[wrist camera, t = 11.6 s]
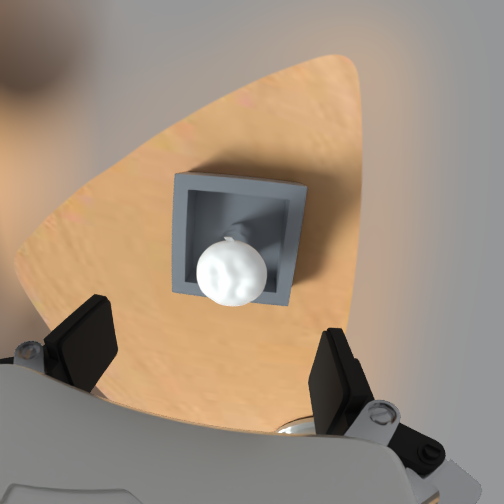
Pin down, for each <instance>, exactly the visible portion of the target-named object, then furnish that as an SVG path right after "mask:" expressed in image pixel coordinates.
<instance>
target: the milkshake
mask: <svg viewBox="0 0 504 504" xmlns="http://www.w3.org/2000/svg"><path fill="white" fill-rule="evenodd" d="M266 280H267V268H266V265H265V262H264V259H263V255H262V251H261V246H260V241H259V236H258V234H257V233H256V231H255V230H254V228H253V227H252V226H250V225H248V224H245V223H242V222H240V223H237V224H233V225H230V226H229V227H228V228H227V230H226V231H225V232H224V233H223V234H222V235H221V236H220V237H219V238H218V239H217V240H216V241H215V242H214V243H213V244H212V245H211V246H209V247H208V248H207V249H206V250H205V251H204V252H203V254H202V255H201V257H200V259H199V261H198V264H197V281H198V285H199V287H200V289H201V291H202V292H203V293H204V294H205V295H206V296H207V297H209V298H210V299H212V300H213V301H215V302H216V303H218V304H221V305H225V306H241V305H244V304H247V303H249V302H251V301H253V300H255V299H256V298H257V297H258V296H259V295H260V294H261V293H262V292H263V290H264V288H265V285H266Z"/></svg>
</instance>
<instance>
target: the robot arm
mask: <svg viewBox="0 0 504 504" xmlns="http://www.w3.org/2000/svg"><path fill="white" fill-rule="evenodd" d="M44 342H45V345H44V346H42V345H41V343H39V342H37V341H27V342H24V343H21V344H20V345H19V346H18V347H17V348H16V350H15V353H14V357H9V358H4V359H0V504H476V503H477V501H478V500H479V498H480V496H481V492H482V488H481V485H480V484H479V482H478V481H477V480H475V479H474V478H473V477H472V476H471V475H469V474H468V473H467V472H466V471H465V470H463V469H462V468H461V467H460V466H458V465H457V464H456V463H455V462H454V461H453V460H449V461H447V460H446V459H445V456H446V455H445V450H444V448H443V446H442V445H441V444H440V443H439V442H437V441H436V440H434V439H432V438H430V437H428V436H425V435H423V434H421V433H419V432H417V431H415V430H413V429H411V428H409V427H407V426H405V425H403V424H401V423H400V418H401V416H400V412H399V410H398V408H397V407H396V406H395V405H393V404H392V403H390V402H388V401H385V400H375V399H374V397H373V394H372V392H371V390H370V387H369V384H368V382H367V379H366V377H365V374H364V372H363V369H362V367H361V364H360V362H359V360H358V359H356V358H354V357H353V354H352V352H351V349H350V347H349V345H348V342H347V339H346V337H345V335H344V332H343V330H342V329H341V328H328V329H327V331H323V332H322V336H321V339H320V343H319V346H318V350H317V353H316V356H315V360H314V363H313V366H312V369H311V373H310V376H309V381H308V385H309V391H310V398H311V404H312V411H313V417H311V418H305V419H300V420H296V421H293V422H291V423H288V424H286V425H284V426H282V427H280V428H279V429H277V430H276V431H275V432H262V431H250V430H241V429H233V428H225V427H219V426H212V425H206V424H201V423H195V422H190V421H185V420H180V419H175V418H171V417H167V416H163V415H159V414H155V413H151V412H147V411H143V410H140V409H136V408H133V407H130V406H126V405H123V404H120V403H117V402H114V401H111V400H108V399H105V398H102V397H99V396H97V395H94V394H91V393H90V392H91V390H92V389H93V388H94V386H95V385H96V383H97V382H98V380H99V379H100V377H101V376H102V375H103V373H104V372H105V370H106V369H107V367H108V366H109V365H110V363H111V362H112V360H113V359H114V358H115V356H116V355H117V352H118V346H117V341H116V335H115V329H114V323H113V317H112V310H111V303H110V301H109V300H108V299H107V297H106V296H102V295H97V294H94V295H93V296H92V297H91V298H89V299H88V300H87V301H86V302H85V303H84V304H82V305H81V306H80V307H79V308H78V309H77V310H75V311H74V312H73V313H72V314H71V315H70V316H69V317H67V318H66V319H65V320H64V321H63V322H62V323H61V324H60V325H59V326H57V327H56V328H55V329H54V330H53V331H52V332H51V333H50V334H49V335H48V336H47V337H45V338H44Z"/></svg>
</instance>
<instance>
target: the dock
mask: <svg viewBox="0 0 504 504" xmlns="http://www.w3.org/2000/svg"><path fill="white" fill-rule="evenodd" d="M306 194H307V186H305V185H304V184H302V183H297V182H290V181H282V180H274V179H266V178H257V177H248V176H238V175H227V174H215V173H201V172H182V173H176V174H175V178H174V195H173V219H172V292H175V293H182V294H188V295H196V296H203V297H207V296H206V295H205V294H204V293H203V292H202V291H201V289H200V287H199V285H198V281H197V264H198V261H199V259H200V257H201V255H202V254H203V252H204V251H205V250H206V249H207V248H208V247H209V246H211V245H212V244H213V243H214V242H215V241H216V240H217V239H218V238H219V237H220V236H221V235H222V234H223V233H224V232H225V231H226V230H227V228H228V227H229V226H230V225H233V224H237V223H240V222H242V223H245V224H248V225H250V226H252V227H253V228H254V230H255V231H256V233H257V234H258V236H259V241H260V246H261V251H262V255H263V259H264V262H265V265H266V268H267V280H266V285H265V288H264V290H263V292H262V293H261V294H260V295H259V296H258V297H257V298H256V299H255V300H253V301H251V303H261V304H270V305H280V306H288V303H289V298H290V292H291V287H292V281H293V276H294V270H295V264H296V258H297V252H298V246H299V240H300V234H301V228H302V221H303V214H304V208H305V201H306Z"/></svg>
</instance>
